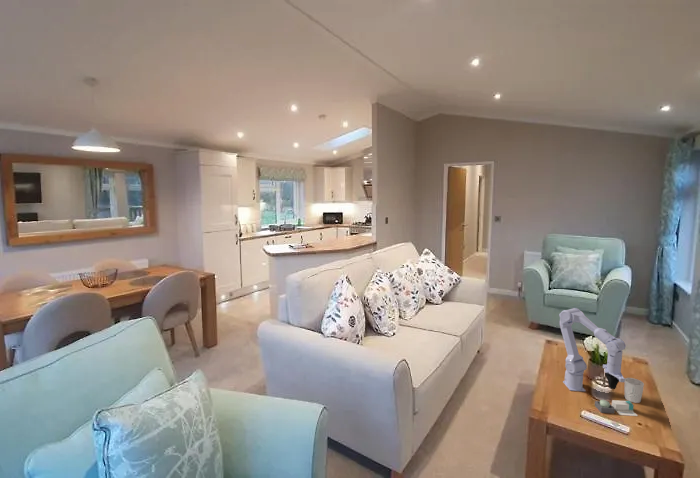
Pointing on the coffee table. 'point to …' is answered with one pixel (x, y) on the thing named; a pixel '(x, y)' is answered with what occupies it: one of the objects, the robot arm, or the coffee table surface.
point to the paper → (626, 412)
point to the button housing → (604, 408)
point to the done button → (604, 403)
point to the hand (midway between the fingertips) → (612, 388)
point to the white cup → (633, 390)
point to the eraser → (622, 405)
